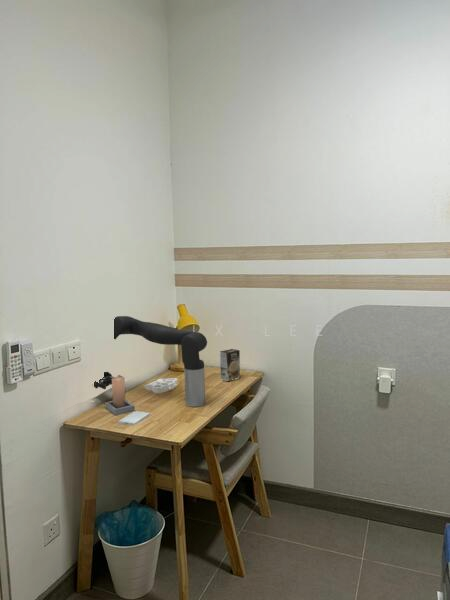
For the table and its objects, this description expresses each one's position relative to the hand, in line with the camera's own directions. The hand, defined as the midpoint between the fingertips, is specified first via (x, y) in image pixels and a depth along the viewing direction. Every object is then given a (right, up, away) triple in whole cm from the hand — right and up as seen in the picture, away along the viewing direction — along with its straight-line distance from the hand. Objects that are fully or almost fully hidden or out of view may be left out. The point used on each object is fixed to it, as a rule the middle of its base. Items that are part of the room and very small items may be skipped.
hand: (114, 385), depth 206 cm
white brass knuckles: (+18, -7, +28) cm, 35 cm away
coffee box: (+54, -5, +40) cm, 67 cm away
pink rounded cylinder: (+3, -10, -3) cm, 11 cm away
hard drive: (+12, -12, -15) cm, 23 cm away
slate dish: (+3, -10, -3) cm, 11 cm away
